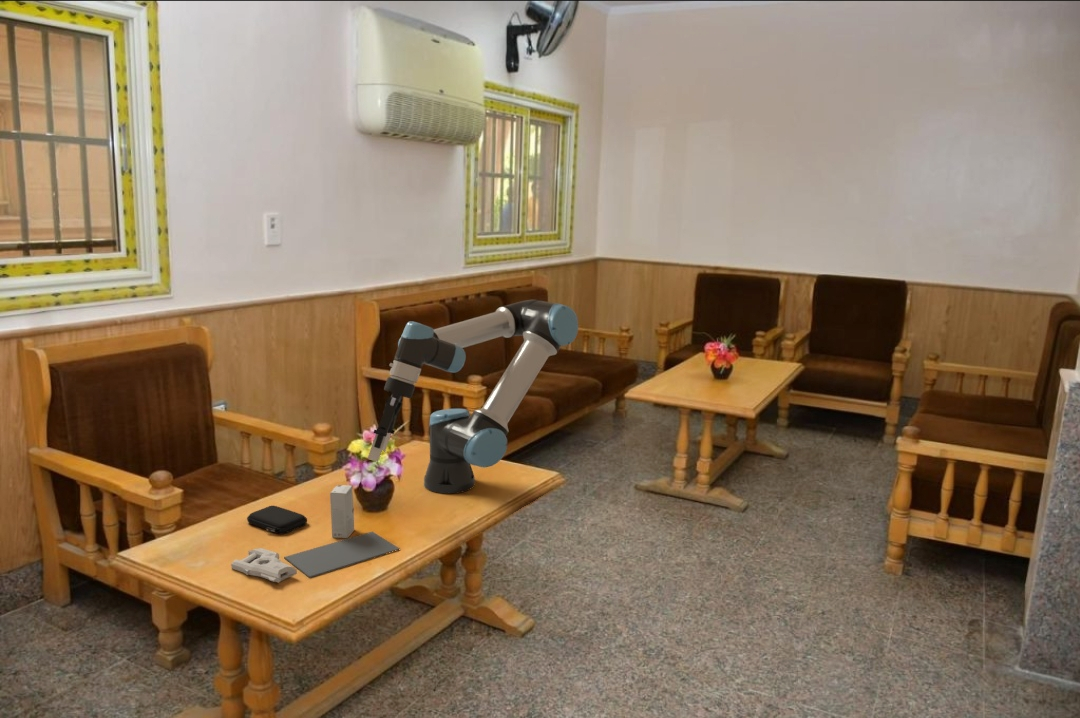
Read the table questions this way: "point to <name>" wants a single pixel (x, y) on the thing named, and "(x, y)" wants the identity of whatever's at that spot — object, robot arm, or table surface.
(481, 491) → the table surface
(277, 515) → the carrying case or bag
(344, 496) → the skincare box
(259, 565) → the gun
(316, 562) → the mat
